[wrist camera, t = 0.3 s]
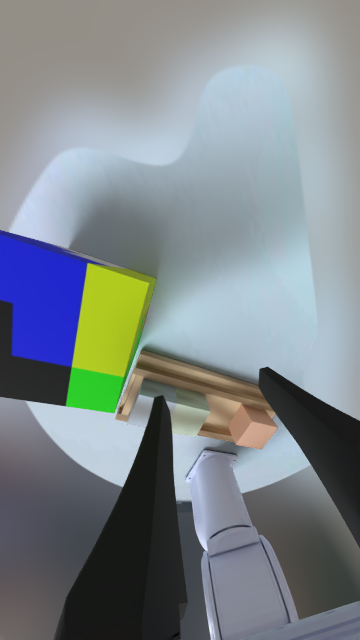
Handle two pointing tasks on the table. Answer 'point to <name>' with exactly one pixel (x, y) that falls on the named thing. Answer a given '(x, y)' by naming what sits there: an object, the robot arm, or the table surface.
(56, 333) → the puzzle toy
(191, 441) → the table surface
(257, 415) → the peach pink cube
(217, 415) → the oak channel board
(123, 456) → the table surface
